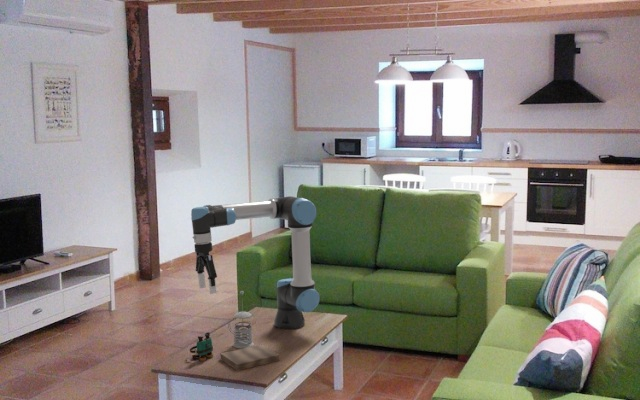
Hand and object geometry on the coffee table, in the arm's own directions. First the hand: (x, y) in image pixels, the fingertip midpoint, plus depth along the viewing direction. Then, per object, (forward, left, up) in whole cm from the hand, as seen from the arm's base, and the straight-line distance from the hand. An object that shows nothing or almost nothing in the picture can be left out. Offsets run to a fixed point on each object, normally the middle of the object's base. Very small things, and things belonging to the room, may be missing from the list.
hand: (207, 290), depth 300 cm
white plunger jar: (-16, -1, -28) cm, 32 cm away
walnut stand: (-10, +19, -28) cm, 35 cm away
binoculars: (+6, +4, -28) cm, 29 cm away
